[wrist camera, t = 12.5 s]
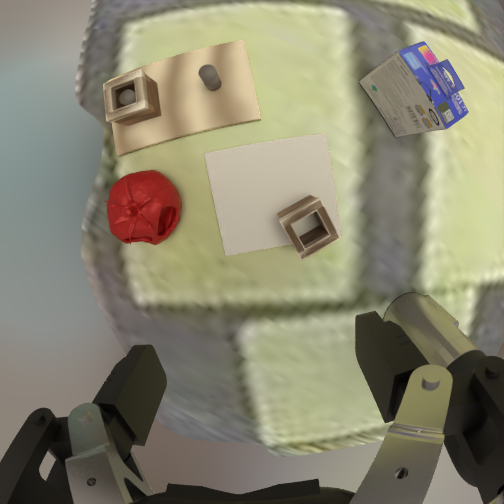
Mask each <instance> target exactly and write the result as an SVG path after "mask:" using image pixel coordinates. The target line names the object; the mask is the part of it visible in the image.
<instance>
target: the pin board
mask: <svg viewBox="0 0 504 504" xmlns="http://www.w3.org/2000/svg"><path fill="white" fill-rule="evenodd" d="M140 69H142V70H143V71H144V72H145V74H146V75H148V76H149V77H150V78H151V79H153V80H154V81H155V82H157V86H158V93H159V101H160V108H161V115H162V116H159V117H155V118H152V119H149V120H145V121H142V122H139V123H136V124H133V125H130V126H126V125H122V124H119V123H115V122H112V127H113V134H114V140H115V146H116V152H117V156H122V155H125V154H128V153H131V152H134V151H137V150H140V149H143V148H146V147H150V146H153V145H156V144H160V143H163V142H166V141H170V140H174V139H177V138H181V137H185V136H188V135H192V134H196V133H200V132H205V131H209V130H213V129H218V128H222V127H227V126H232V125H237V124H242V123H247V122H253V121H259V120H261V115H260V111H259V106H258V101H257V96H256V92H255V87H254V82H253V78H252V73H251V69H250V64H249V60H248V56H247V51H246V47H245V43H244V40H240V41H235V42H229V43H224V44H220V45H215V46H210V47H206V48H202V49H198V50H194V51H190V52H187V53H183V54H180V55H176V56H173V57H170V58H166V59H163V60H160V61H157V62H154V63H151V64H149V65H146V66H143V67H140V68H138V69H135V70H133V71H130V72H127V73H125V74H123V75H120V76H118V77H115V78H113V79H111V80H114V79H116V78H119V77H121V76H124V75H126V74H129V73H131V72H134V71H137V70H140ZM111 80H109V81H111ZM109 81H107V82H109ZM119 100H120V103H121V104H123V105H125V106H128V105H130V104H133V103H136V93H135V92H134V91H132V90H129V89H128V90H125V91H123V92H122V93H121V95H120V98H119Z"/></svg>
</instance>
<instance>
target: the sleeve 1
mask: <svg viewBox="0 0 504 504" xmlns="http://www.w3.org/2000/svg"><path fill="white" fill-rule="evenodd" d="M103 87H104V100H105V111H106V121H107V122H111V123H112V122H115V123H119V124H122V125H126V126H130V125H133V124H136V123H139V122H142V121H145V120H149V119H152V118H155V117H159V116H162V115H161V108H160V101H159V93H158V86H157V82H155V81H154V80H153V79H151V78H150V77H149V76H148V75H146V74H145V72H144V71H143V70H142V69H140V70H137V71H134V72H131V73H129V74H126V75H124V76H121V77H119V78H116V79H114V80H111V81H109V82H107V83H104V84H103ZM128 89H129V90H132V91H134V92H135V93H136V103H133V104H130V105H128V106H125V105H123V104H121V103H120V100H119V98H120V95H121V93H122V92H123V91H125V90H128Z"/></svg>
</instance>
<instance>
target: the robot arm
mask: <svg viewBox="0 0 504 504" xmlns="http://www.w3.org/2000/svg"><path fill="white" fill-rule="evenodd" d="M458 324H459V323H458V321H457V320H456V319H455V318H454V317H453V316H452V315H451V314H449V313H448V312H447V311H446V310H445V309H444V308H443V307H442V306H440V305H439V304H438V303H437V302H436V301H435V300H434V299H432V298H431V297H430V296H429V295H428V296H423V295H421V294H419V293H407V294H405V295H402V296H400V297H399V298H398V299H396V300H395V301H394V302H393V303H392V304H391V305H390V307H389V308H388V310H387V312H386V313H385V316H384V319H383V320H382V319H381V317H380V316H379V315H378V313H377V312H376V311H373V312H369V313H364V314H360V315H357V316H356V319H355V350H356V357H357V361H358V363H359V366H360V368H361V370H362V372H363V374H364V376H365V379H366V381H367V383H368V385H369V388H370V390H371V392H372V394H373V397H374V399H375V401H376V403H377V406H378V408H379V410H380V413H381V415H382V417H383V420H384V422H385V423H388V422H391V421H394V422H393V425H392V426H390V428H389V430H388V432H387V434H386V436H385V438H384V441H383V443H382V445H381V447H380V449H379V451H378V453H377V455H376V457H375V459H374V461H373V463H372V465H371V467H370V469H369V471H368V473H367V474H366V476H365V478H364V480H363V481H362V483H361V485H360V487H359V488H358V490H357V492H356V493H354V492H351V491H347V490H344V489H339V488H332V487H320V486H319V480H318V479H313V480H307V481H301V482H293V483H285V484H278V485H275V486H271V487H268V488H264V489H261V490H257V491H253V492H249V493H245V494H232V493H227V492H223V491H219V490H214V489H210V488H207V487H203V486H191V485H179V484H169V483H168V485H167V490H166V492H163V493H157V494H155V493H154V492H153V490H152V489H151V487H150V486H149V484H148V482H147V480H146V478H145V476H144V474H143V472H142V470H141V468H140V466H139V464H138V462H137V459H136V457H135V455H134V453H133V452H132V451H131V448H132V445H139V446H145V443H146V440H147V437H148V434H149V431H150V429H151V426H152V423H153V421H154V418H155V415H156V413H157V410H158V407H159V405H160V402H161V399H162V397H163V394H164V392H165V389H166V385H167V379H166V374H165V372H164V369H163V367H162V365H161V363H160V361H159V358H158V356H157V354H156V351H155V349H154V347H153V346H152V345H134V346H133V347H132V348H131V350H130V351H129V353H128V354H127V356H126V357H124V358H123V359H122V360H121V361H120V362H118V363H117V364H116V365H115V367H114V368H113V370H112V371H111V374H110V375H109V376H108V378H107V381H105V382H104V384H103V386H102V387H101V389H100V391H99V392H98V394H97V395H96V397H95V398H94V400H93V402H92V403H84V404H81V405H79V406H77V407H76V408H74V409H73V410H72V411H71V412H70V414H69V416H68V417H60V418H56V417H55V415H54V414H53V413H52V411H51V410H50V409H48V408H40V409H37V410H35V411H34V412H33V413H31V414H30V415H29V417H28V418H27V420H26V421H25V423H24V424H23V426H22V428H21V429H20V431H19V432H18V434H17V435H16V437H15V439H14V440H13V442H12V443H11V445H10V447H9V448H8V450H7V452H6V453H5V455H4V457H3V458H2V460H1V462H0V504H422V503H423V501H424V498H425V496H426V493H427V491H428V488H429V486H430V483H431V480H432V478H433V475H434V472H435V469H436V466H437V462H438V459H439V456H440V453H441V449H442V445H443V442H444V445H445V447H446V449H447V451H448V453H449V456H450V458H451V460H452V462H453V464H454V466H455V468H456V470H457V472H458V473H459V475H460V476H461V477H462V478H463V479H464V480H465V481H466V482H467V483H468V484H470V485H472V486H474V487H477V488H478V490H479V493H480V495H481V498H482V501H483V503H484V504H504V360H503V359H502V358H499V357H496V356H486V355H485V354H484V353H483V352H482V351H481V350H480V349H479V348H478V347H477V346H476V345H475V344H474V343H473V342H472V341H471V340H470V339H469V338H468V337H467V336H466V335H465V334H464V333H463V332H462V331H461V330H460V329H458ZM47 451H49V453H50V454H51V455H52V456H53V457H54V458H55V459H56V461H55V463H54V465H53V467H52V469H51V471H50V474H49V476H48V478H47V480H46V481H45V480H44V479H43V478H42V477H41V476H40V473H39V467H40V465H41V463H42V460H43V458H44V457H45V455H46V453H47Z"/></svg>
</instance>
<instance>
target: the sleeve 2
mask: <svg viewBox="0 0 504 504" xmlns="http://www.w3.org/2000/svg"><path fill="white" fill-rule="evenodd" d="M312 213H313V214H314V215H315V217H316V219H317V221H318V223H319V226H317V227H315V228H314V229H312V230H310V231H308V232H307V233H305V234H303V235H301V236H299V237H298V235H297V233H296V231H295V229H294V228H293V226H292V224H294V223H296V222H297V221H299V220H301V219H303V218H305V217H306V216H308V215H310V214H312ZM277 214H278V217H279V221H280V223H281V225H282V227H283V228H284V230H285V232H286V234H287V235H288V237H289V239H290V241H291V242H292V244H293V246H294V248H295V249H296V251H297V253H298V255H299V257H300V258H301V260H303V259H305V258H307V257H309V256H310V255H312V254H314V253H316V252H317V251H319V250H321V249H323V248H325V247H326V246H328V245H330V244H332V243H333V242H335V241H337V240H339V239H340V236H339V234H338V232H337V230H336V228H335V226H334V224H333V222H332V220H331V218H330V216H329V214H328V212H327V210H326V208H325V206H324V204H323V202H322V200H321V199H320V198H319V197H318V198H316V197H314V196H312V195H309V196H307V197H305V198H303V199H302V200H300V201H298V202H296V203H295V204H293V205H291V206H289V207H287V208H286V209H284V210H282V211H280V212H279V213H277Z"/></svg>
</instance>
